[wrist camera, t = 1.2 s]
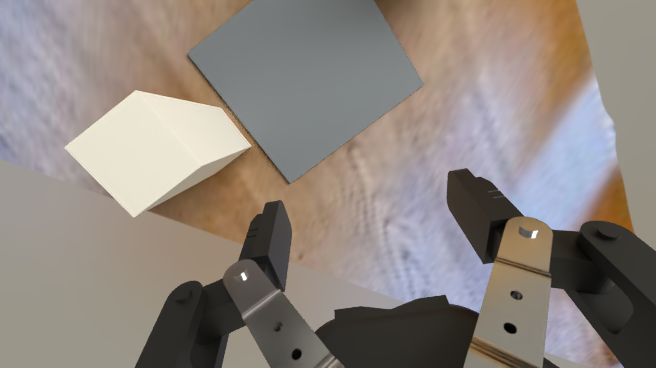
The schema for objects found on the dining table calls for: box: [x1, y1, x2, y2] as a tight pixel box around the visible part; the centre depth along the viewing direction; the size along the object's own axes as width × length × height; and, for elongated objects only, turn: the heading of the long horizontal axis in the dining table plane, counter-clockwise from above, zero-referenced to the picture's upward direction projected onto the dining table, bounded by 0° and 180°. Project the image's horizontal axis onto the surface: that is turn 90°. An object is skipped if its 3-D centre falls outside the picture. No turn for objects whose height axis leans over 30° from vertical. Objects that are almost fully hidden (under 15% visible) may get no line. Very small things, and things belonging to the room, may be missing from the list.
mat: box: [187, 0, 424, 184], centre depth 34 cm, size 20×22×1 cm
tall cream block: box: [64, 91, 251, 218], centre depth 27 cm, size 6×6×18 cm
